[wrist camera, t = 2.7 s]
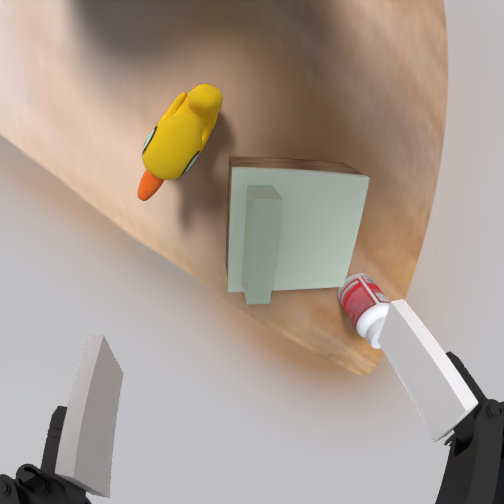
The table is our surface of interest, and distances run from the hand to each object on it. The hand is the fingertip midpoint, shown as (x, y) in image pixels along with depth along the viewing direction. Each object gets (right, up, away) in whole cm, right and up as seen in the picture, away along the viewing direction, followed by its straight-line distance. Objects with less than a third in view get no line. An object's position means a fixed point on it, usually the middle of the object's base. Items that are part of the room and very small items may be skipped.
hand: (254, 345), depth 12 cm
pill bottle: (+16, -1, +31) cm, 35 cm away
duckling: (-7, +17, +16) cm, 25 cm away
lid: (+5, +6, +19) cm, 20 cm away
